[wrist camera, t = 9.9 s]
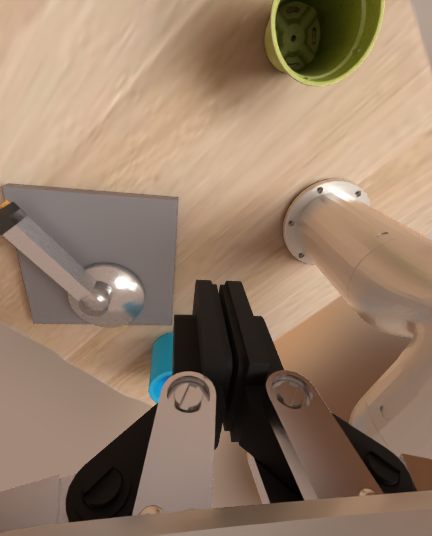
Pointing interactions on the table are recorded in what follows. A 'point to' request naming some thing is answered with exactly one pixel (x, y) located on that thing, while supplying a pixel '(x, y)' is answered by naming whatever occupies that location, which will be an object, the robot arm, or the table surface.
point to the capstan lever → (77, 273)
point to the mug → (161, 365)
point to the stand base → (100, 245)
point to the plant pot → (322, 37)
